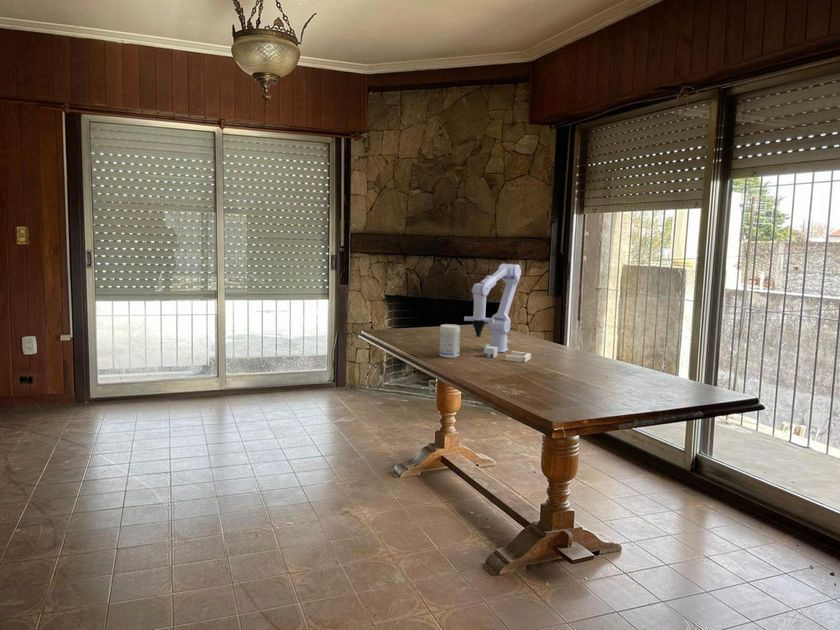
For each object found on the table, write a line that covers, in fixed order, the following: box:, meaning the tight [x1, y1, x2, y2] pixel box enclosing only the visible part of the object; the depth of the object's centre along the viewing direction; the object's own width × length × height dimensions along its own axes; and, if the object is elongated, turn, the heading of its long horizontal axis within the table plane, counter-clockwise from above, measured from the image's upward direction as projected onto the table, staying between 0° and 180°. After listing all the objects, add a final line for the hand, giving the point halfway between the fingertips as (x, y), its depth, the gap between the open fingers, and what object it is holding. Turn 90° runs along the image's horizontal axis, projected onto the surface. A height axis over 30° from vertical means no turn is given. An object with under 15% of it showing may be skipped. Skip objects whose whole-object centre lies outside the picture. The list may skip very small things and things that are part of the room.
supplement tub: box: [438, 323, 461, 359], centre depth 300 cm, size 10×10×15 cm
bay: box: [505, 350, 532, 363], centre depth 299 cm, size 11×9×2 cm
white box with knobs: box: [482, 343, 499, 359], centre depth 304 cm, size 7×5×6 cm
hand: (478, 336), depth 306 cm, fingers closed
